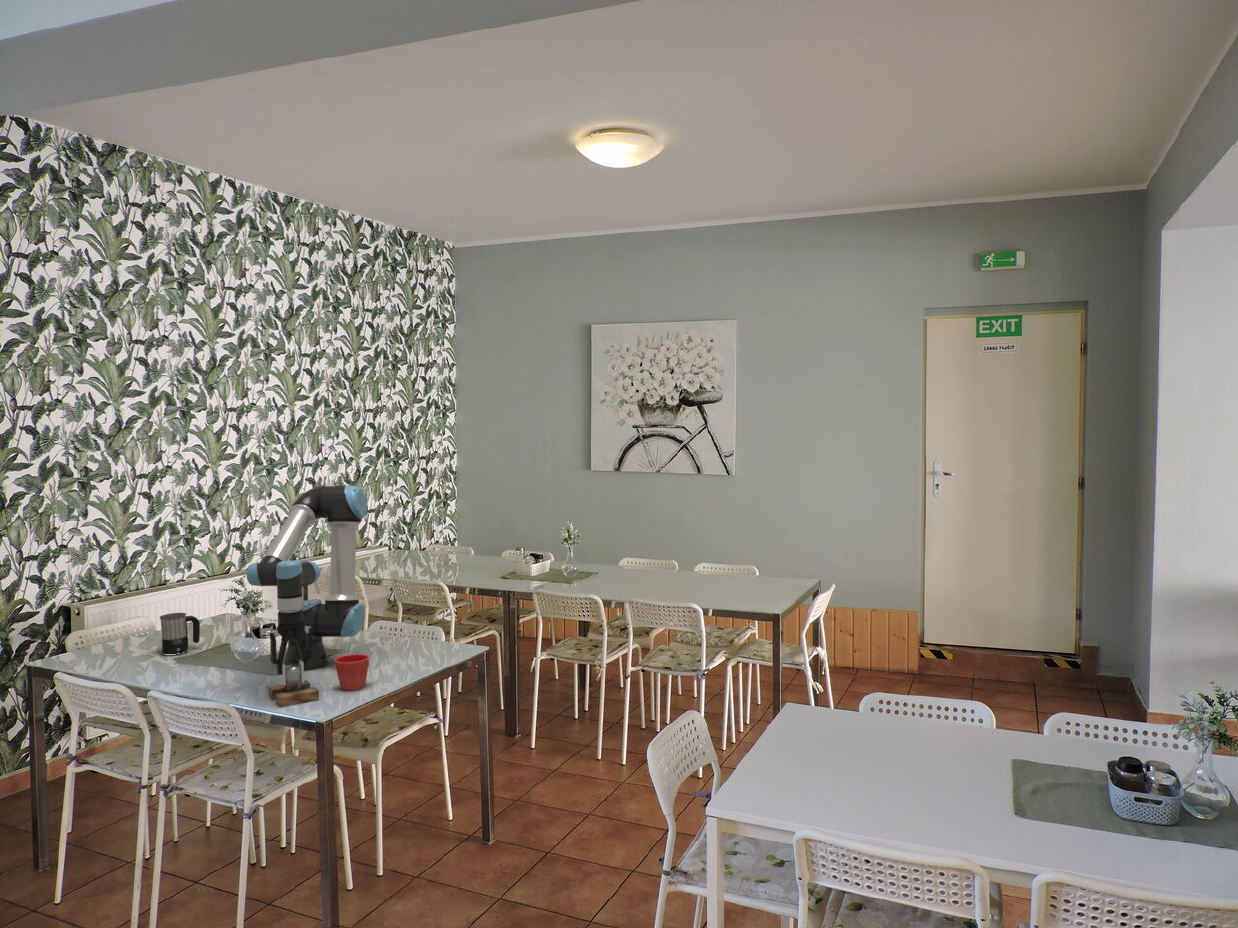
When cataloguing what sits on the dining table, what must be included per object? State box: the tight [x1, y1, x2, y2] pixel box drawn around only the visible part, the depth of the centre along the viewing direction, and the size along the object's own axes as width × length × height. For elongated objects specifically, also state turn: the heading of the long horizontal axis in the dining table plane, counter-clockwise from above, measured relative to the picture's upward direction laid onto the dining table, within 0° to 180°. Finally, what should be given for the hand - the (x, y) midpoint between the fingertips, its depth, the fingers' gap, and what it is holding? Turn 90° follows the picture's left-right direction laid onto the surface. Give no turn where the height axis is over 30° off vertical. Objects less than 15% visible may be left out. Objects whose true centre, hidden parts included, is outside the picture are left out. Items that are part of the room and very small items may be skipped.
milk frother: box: [159, 612, 201, 654], centre depth 344 cm, size 14×16×15 cm
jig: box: [267, 679, 320, 708], centre depth 282 cm, size 12×14×3 cm
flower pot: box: [334, 653, 370, 691], centre depth 292 cm, size 11×11×10 cm
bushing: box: [284, 664, 301, 691], centre depth 281 cm, size 5×5×7 cm
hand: (292, 682), depth 281 cm, fingers closed on bushing, 5 cm apart
